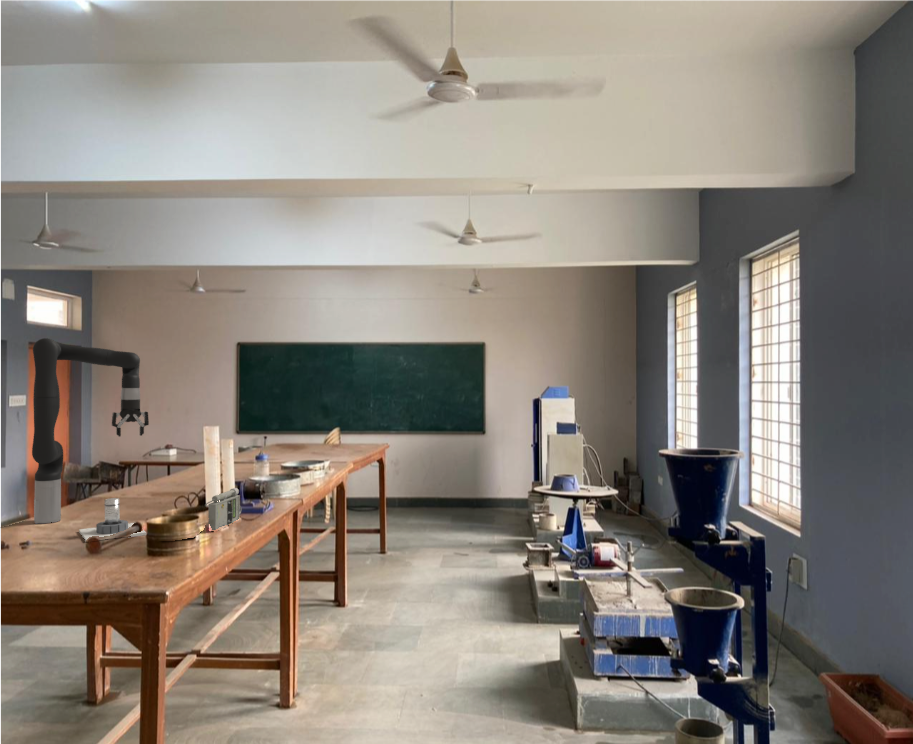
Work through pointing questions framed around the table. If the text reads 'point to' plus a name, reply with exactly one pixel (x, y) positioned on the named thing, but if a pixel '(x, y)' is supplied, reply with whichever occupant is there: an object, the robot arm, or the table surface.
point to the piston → (112, 511)
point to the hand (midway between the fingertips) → (130, 435)
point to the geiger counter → (224, 509)
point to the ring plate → (93, 532)
